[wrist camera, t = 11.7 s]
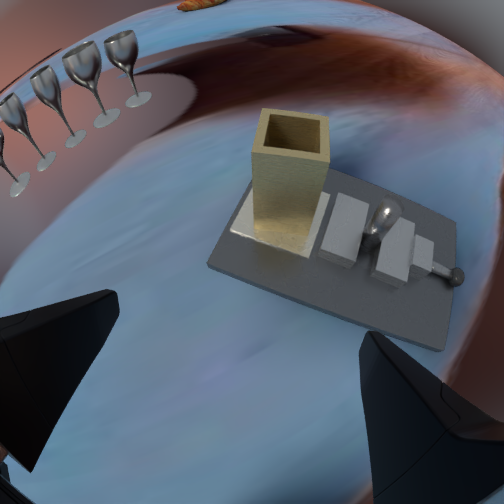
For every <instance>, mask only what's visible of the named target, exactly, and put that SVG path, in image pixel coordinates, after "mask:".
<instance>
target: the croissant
mask: <svg viewBox="0 0 504 504" xmlns="http://www.w3.org/2000/svg"><path fill="white" fill-rule="evenodd" d="M223 1H226V0H185V2H183V3H181V4H180V5H179V6H177V9H178V10H182V11H191V10H198V9H203V8H208V7H211V6H215V5H218V4H219V3H222V2H223Z"/></svg>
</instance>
